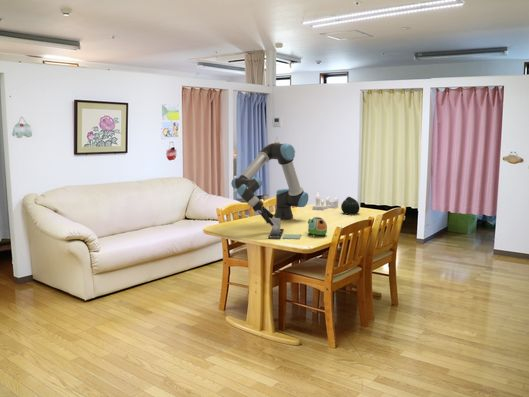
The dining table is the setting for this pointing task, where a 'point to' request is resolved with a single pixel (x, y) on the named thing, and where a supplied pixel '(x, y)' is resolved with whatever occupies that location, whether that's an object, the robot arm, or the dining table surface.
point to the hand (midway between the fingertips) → (277, 226)
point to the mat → (291, 236)
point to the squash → (350, 206)
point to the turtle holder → (317, 226)
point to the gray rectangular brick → (277, 222)
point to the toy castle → (328, 203)
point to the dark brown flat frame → (275, 235)
